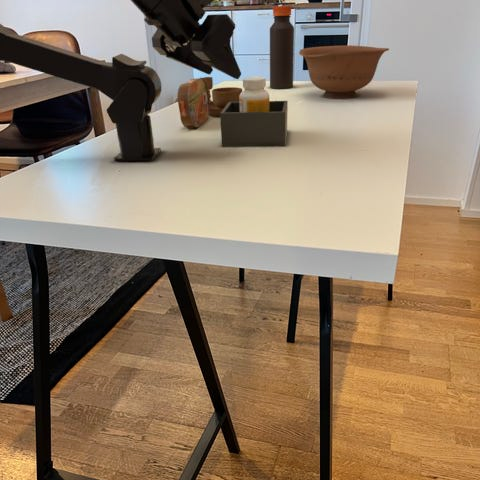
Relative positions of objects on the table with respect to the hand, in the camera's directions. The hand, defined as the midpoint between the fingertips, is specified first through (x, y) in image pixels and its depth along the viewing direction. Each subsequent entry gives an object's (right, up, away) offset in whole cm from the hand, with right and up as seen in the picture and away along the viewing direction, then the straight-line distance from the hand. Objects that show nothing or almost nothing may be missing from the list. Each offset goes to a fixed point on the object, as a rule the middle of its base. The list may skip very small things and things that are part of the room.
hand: (224, 74), depth 81 cm
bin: (+6, -8, +8) cm, 13 cm away
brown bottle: (+15, +27, +60) cm, 68 cm away
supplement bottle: (+5, -7, +8) cm, 12 cm away
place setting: (0, +9, +34) cm, 36 cm away
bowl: (+29, +17, +44) cm, 56 cm away
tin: (-7, 0, +22) cm, 23 cm away
